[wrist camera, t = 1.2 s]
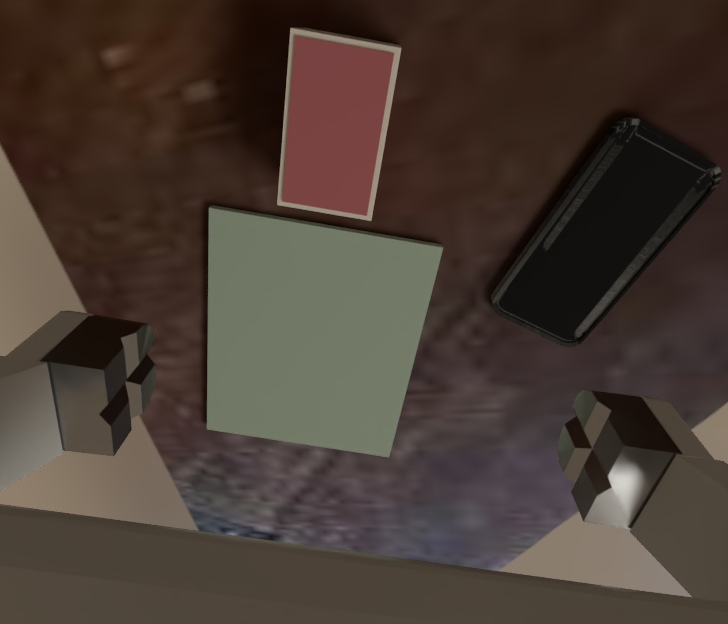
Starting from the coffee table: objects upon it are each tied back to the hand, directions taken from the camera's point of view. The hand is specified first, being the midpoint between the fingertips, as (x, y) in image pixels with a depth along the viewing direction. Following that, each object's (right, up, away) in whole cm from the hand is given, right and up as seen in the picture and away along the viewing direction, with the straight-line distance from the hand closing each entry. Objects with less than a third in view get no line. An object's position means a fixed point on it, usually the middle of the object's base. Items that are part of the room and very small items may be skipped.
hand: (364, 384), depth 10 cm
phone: (+16, +6, +25) cm, 30 cm away
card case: (-1, +13, +22) cm, 25 cm away
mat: (-4, -1, +30) cm, 30 cm away
